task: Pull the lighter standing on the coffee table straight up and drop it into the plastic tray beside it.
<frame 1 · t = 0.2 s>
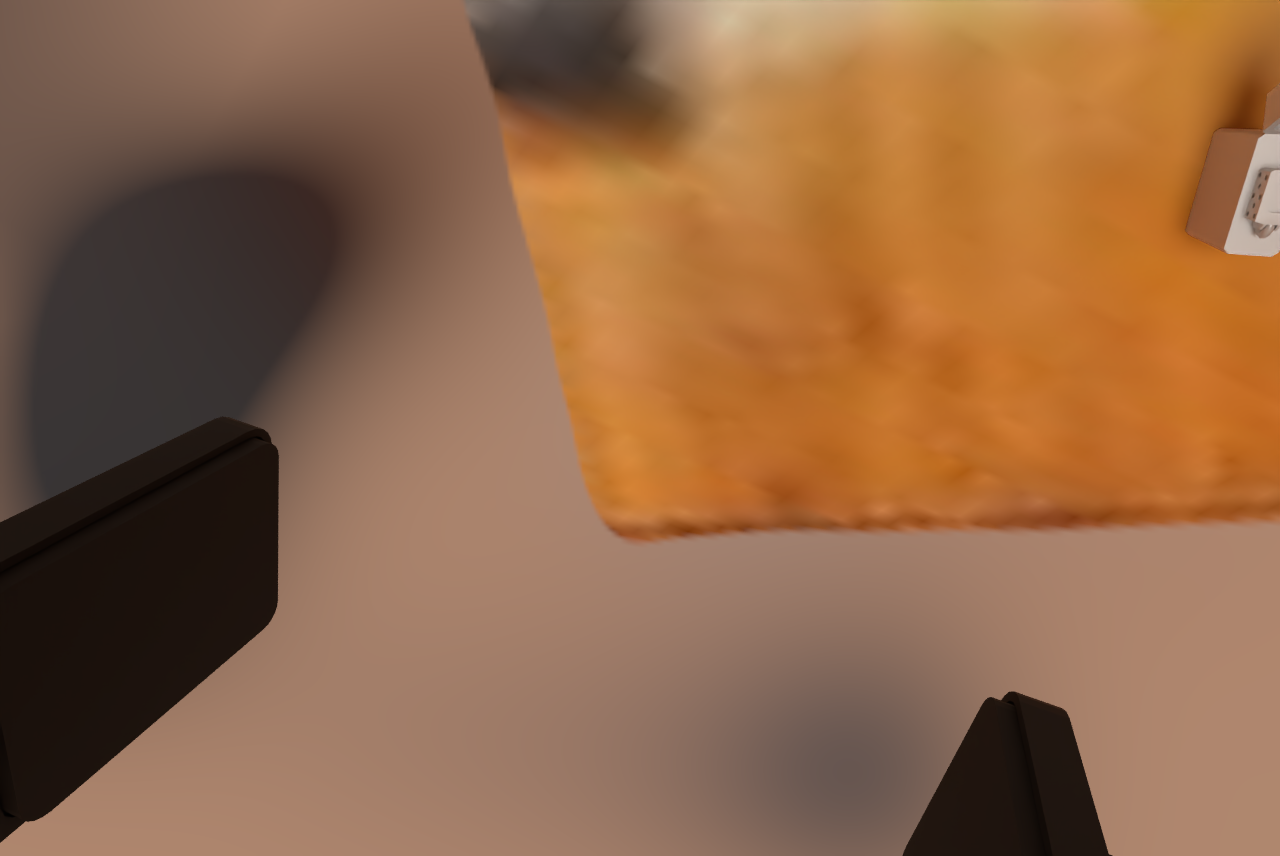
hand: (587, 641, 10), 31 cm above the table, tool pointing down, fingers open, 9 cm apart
lighter: (1233, 144, 31), on the table
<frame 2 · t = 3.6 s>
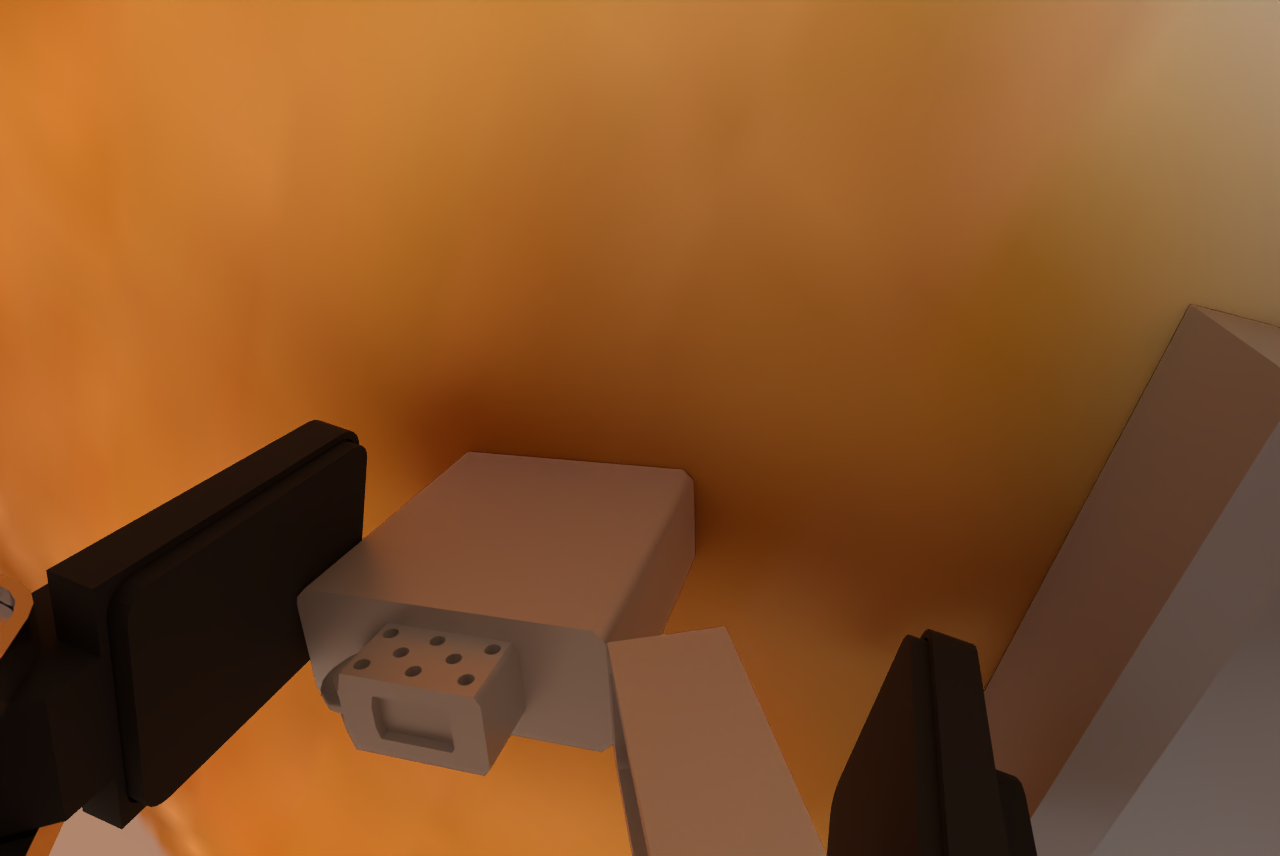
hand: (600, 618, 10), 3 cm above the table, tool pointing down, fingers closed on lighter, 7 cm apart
lighter: (662, 509, 13), on the table, touching gripper
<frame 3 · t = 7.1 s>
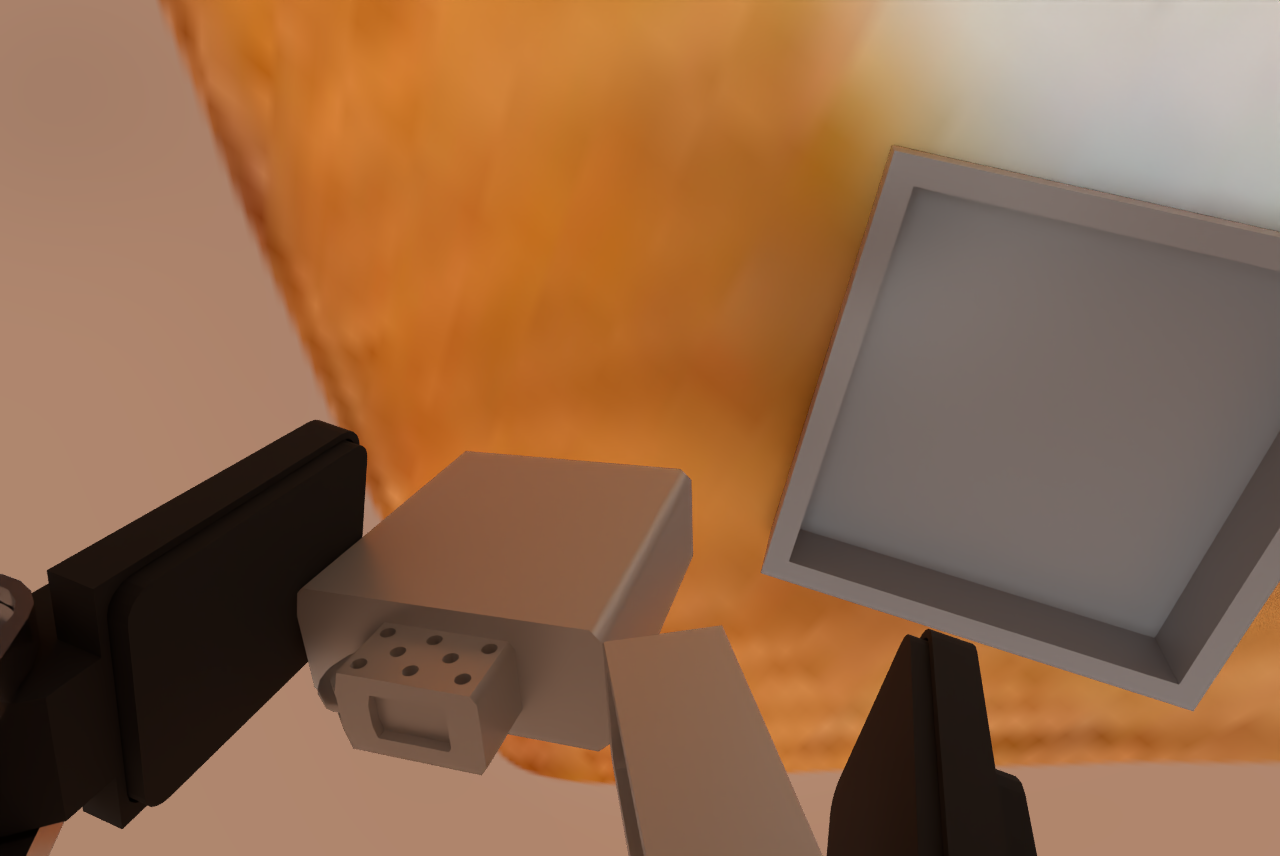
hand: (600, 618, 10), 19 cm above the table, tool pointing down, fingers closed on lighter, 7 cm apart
lighter: (660, 509, 13), point 16 cm above the table, touching gripper
tray: (1037, 417, 27), on the table
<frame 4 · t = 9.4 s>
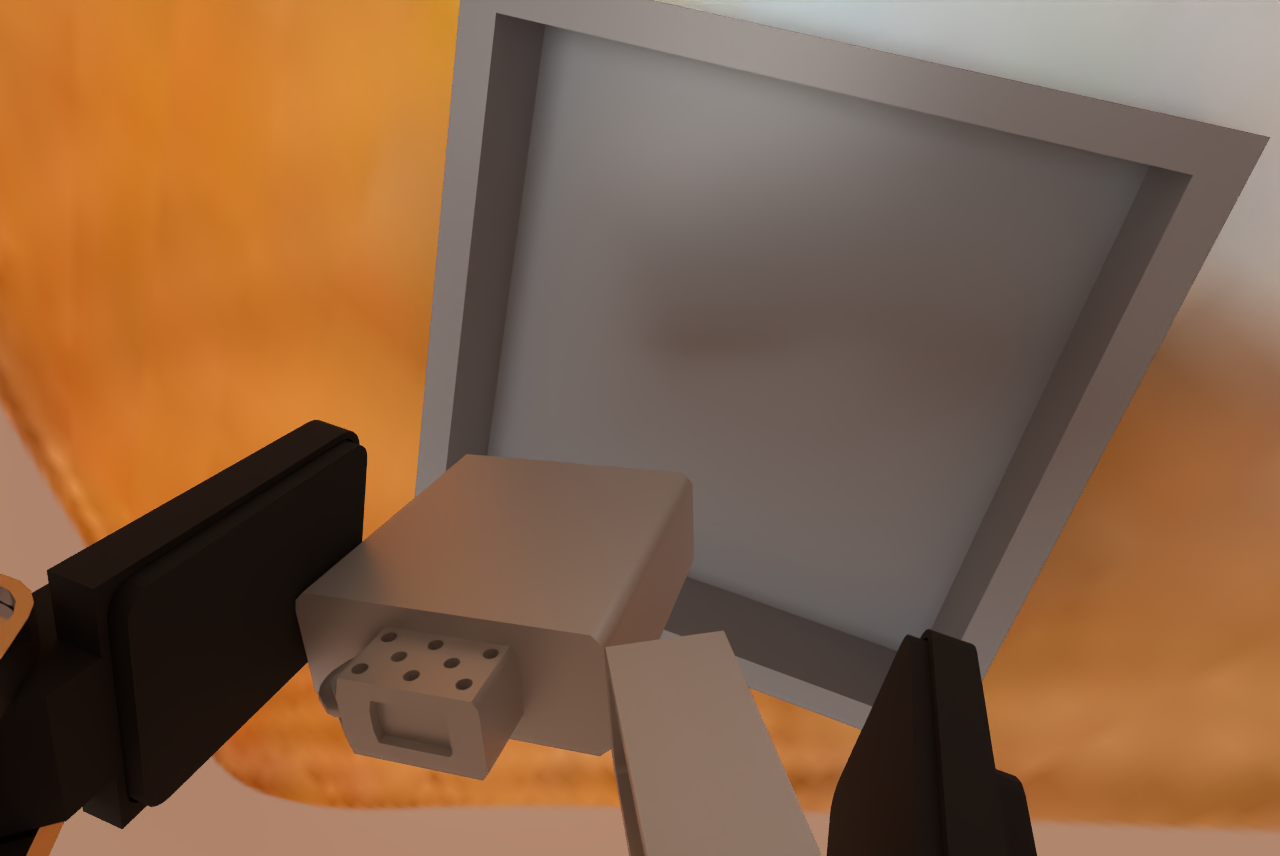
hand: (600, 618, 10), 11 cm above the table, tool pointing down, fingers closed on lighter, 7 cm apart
lighter: (661, 512, 13), point 8 cm above the table, touching gripper
tray: (750, 361, 20), on the table
when the fingers open (5 cm above the table, at t = 11.2 s): lighter drops 1 cm, resting on tray.
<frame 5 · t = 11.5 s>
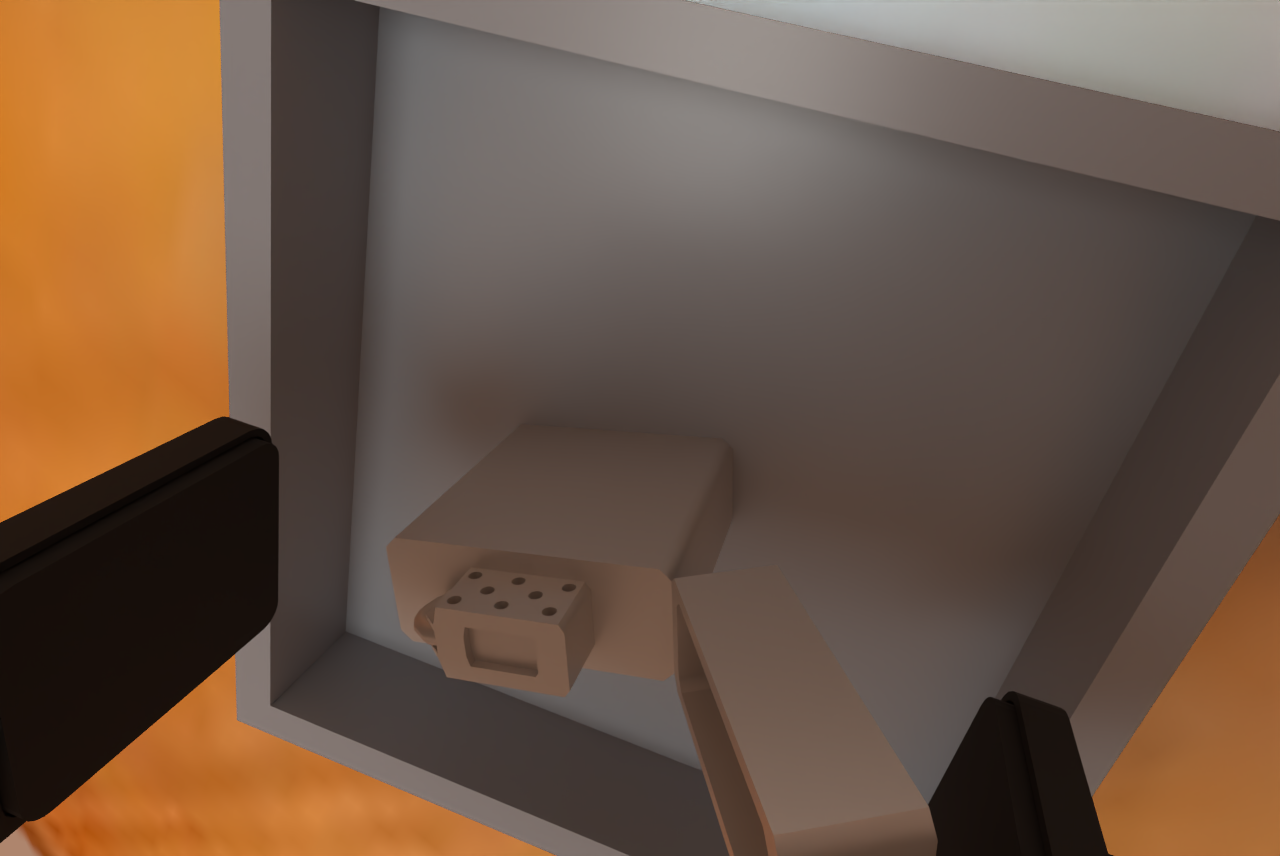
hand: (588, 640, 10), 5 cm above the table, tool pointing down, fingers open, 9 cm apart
lighter: (702, 476, 14), resting on tray
tray: (684, 466, 15), on the table
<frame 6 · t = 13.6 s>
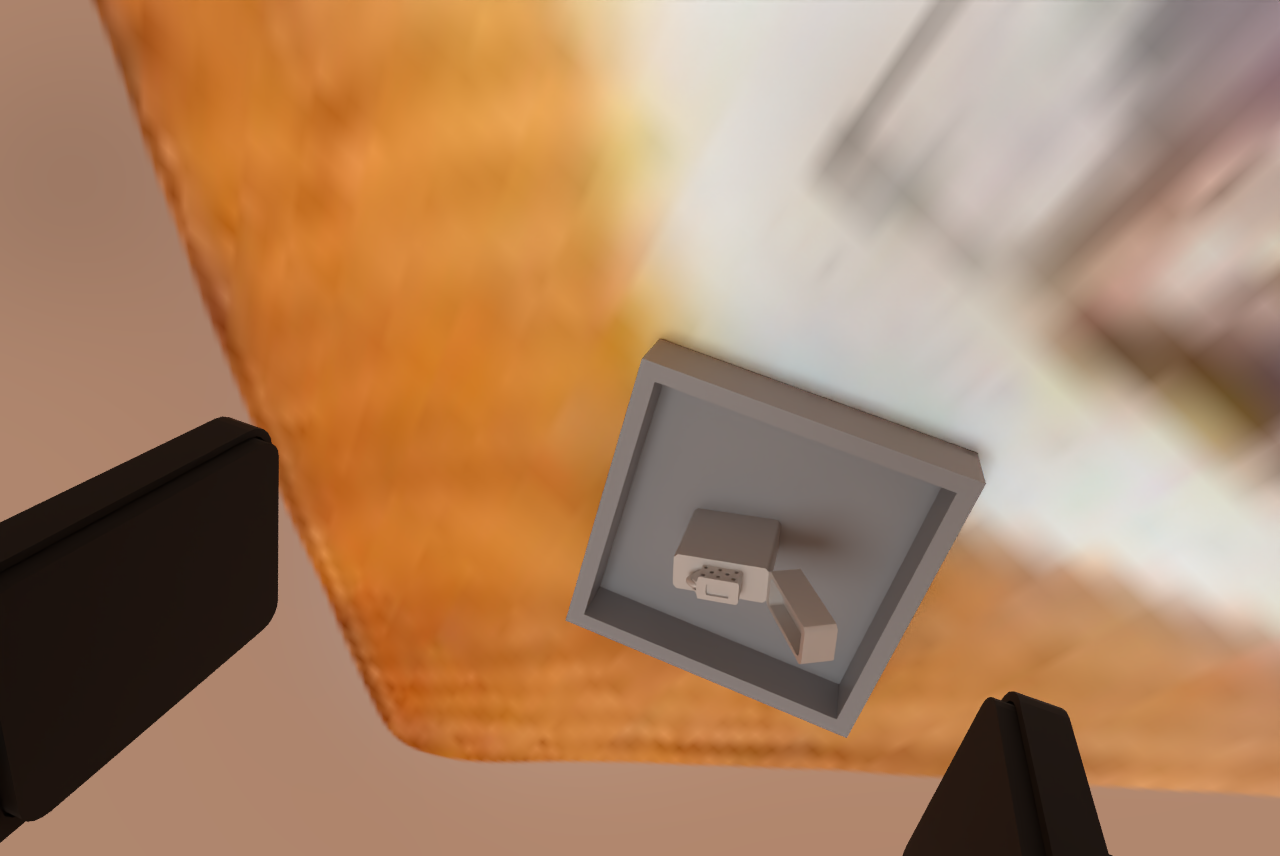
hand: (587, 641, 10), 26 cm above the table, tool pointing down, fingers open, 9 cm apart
lighter: (767, 532, 38), resting on tray
tray: (759, 527, 38), on the table
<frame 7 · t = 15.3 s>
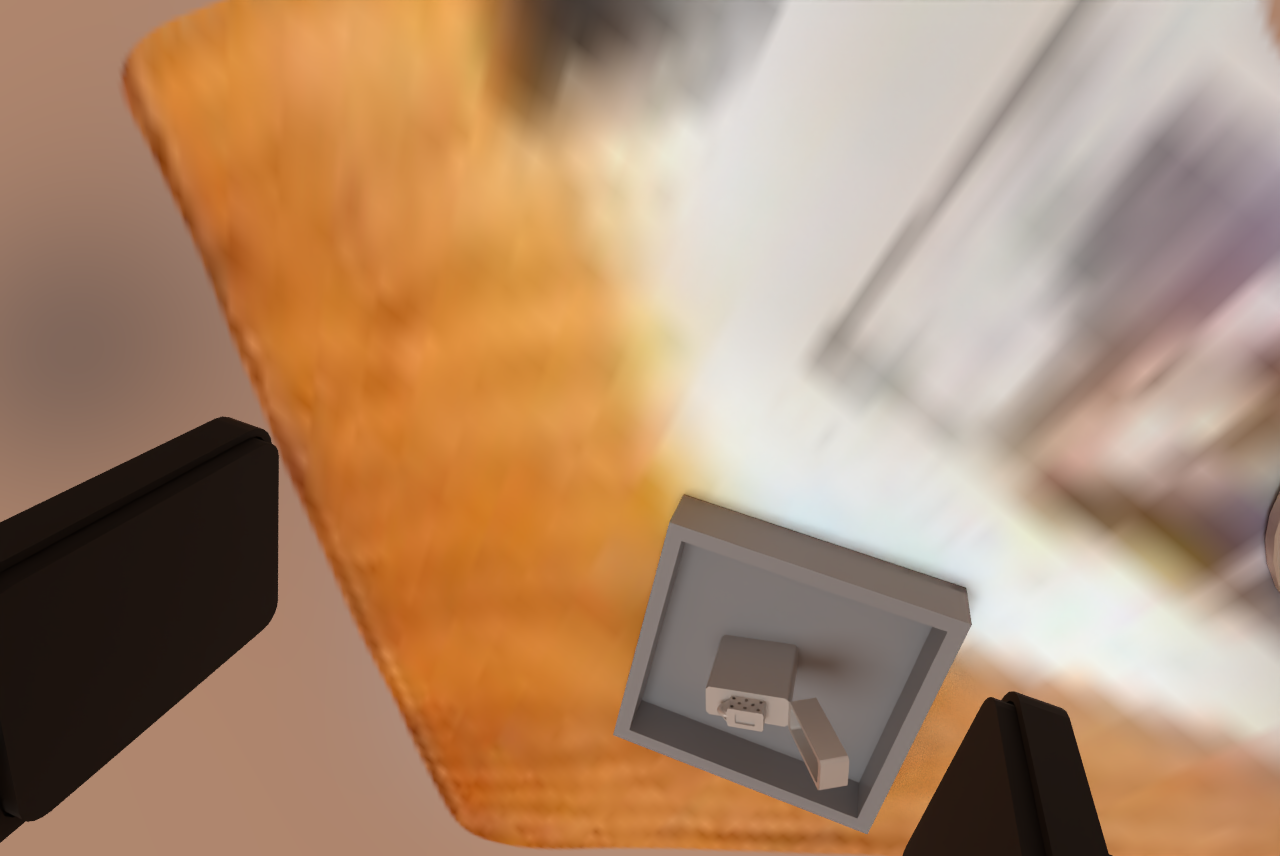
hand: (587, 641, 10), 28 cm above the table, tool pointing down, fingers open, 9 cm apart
lighter: (787, 654, 43), resting on tray
tray: (780, 649, 43), on the table
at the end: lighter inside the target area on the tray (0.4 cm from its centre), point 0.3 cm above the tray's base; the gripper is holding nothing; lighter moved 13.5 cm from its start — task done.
